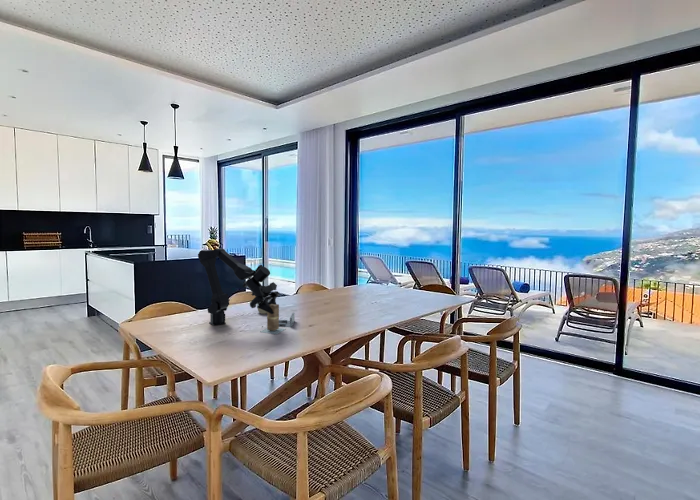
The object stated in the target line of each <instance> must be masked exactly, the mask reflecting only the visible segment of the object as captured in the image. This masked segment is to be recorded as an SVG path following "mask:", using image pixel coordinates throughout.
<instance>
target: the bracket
mask: <svg viewBox="0 0 700 500" xmlns="http://www.w3.org/2000/svg"><path fill="white" fill-rule="evenodd" d="M295 316H296V314H295V312H292V313H291V315H290V317H289V320H288V319H279V328H292V327H293V326H294V323H295Z"/></svg>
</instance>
